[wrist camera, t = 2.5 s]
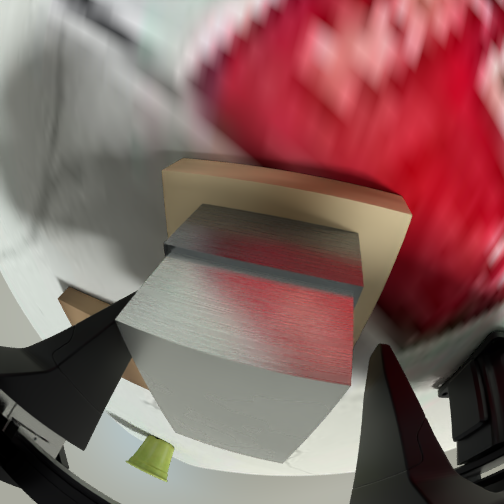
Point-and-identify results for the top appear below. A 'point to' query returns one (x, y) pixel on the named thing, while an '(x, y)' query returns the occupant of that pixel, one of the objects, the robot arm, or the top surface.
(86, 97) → the top surface
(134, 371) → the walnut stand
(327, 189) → the oak stand
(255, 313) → the block
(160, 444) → the plant pot
